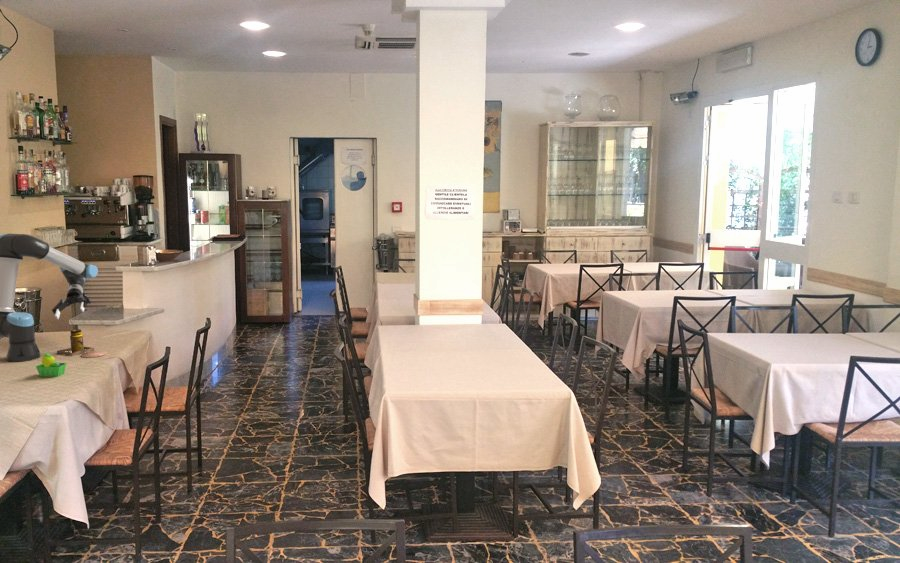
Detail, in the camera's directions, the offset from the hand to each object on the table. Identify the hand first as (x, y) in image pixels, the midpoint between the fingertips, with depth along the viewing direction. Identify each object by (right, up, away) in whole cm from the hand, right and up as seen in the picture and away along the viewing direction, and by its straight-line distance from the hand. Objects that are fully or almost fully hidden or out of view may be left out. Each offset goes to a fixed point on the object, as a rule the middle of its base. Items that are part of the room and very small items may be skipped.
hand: (69, 314), depth 408 cm
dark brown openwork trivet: (+8, -20, -9) cm, 23 cm away
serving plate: (+21, -21, -16) cm, 34 cm away
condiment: (+8, -20, -9) cm, 24 cm away
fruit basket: (+20, -27, -56) cm, 65 cm away
